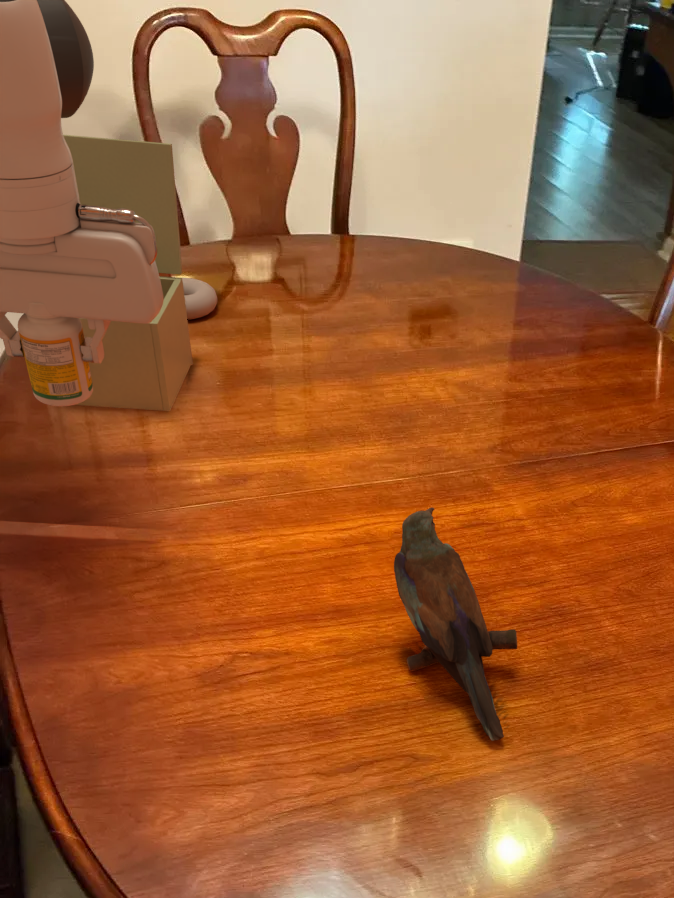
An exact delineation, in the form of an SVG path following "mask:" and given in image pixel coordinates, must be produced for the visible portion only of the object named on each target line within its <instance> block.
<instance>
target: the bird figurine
mask: <svg viewBox="0 0 674 898" xmlns="http://www.w3.org/2000/svg"><path fill="white" fill-rule="evenodd" d="M434 511H435V507H429V508H427V509H426V510H418V511H415V512H413V513H410V514H409V515H408V516H407V517H406V518H405V519H404V520H403V522H402V525H401V529H402V533H401V546H400V550H399V552H397V553H396V555H394V559H393V560H394V561H393V571H394V578H395V583H396V589H397V593H398V596H399V598H400V600H401V603H402V604H403V606H404V609H405V611H406V613H407V616H408V618H409V619H410V621H411V623H412V625H413V627H414V628H415V630H416V631H417V633H418V634H419V636H420V639H421V642H422V643H423V645H424V646H423V648H422V649H421V651H420V652H418V653H416V654H413V655H410V656H408V657H406V664H407V667H408V669H409V671H410V672H414V671H417V670H421V669H424V668H427V667H430V666H432V665H434V664H437V663H439V664H440V665H441V666H442V668H444V670H445V671H446V672H447V673H448V674H449V675H450V676H451V677H452V679H453V680H454V681H455V682H456V684H458V686H459V687H460V688H461V689H462V690H463V691H464V692H465V693H466V694H467V695H468V698H469V701H470V703H471V705H472V707H473V712H474V714H475V716H476V718H477V720H478V721H479V722H480V724H481V726H482V728H483V731H484V733H485V734H486V736H488V737H489V739H490V741H492V742H494V741H500V740H501V739H503V738H504V737H505V735H504V731H503V727H502V724H501V720H500V718H499V716H498V714H497V711H496V707H495V704H494V703H495V702H494V698H493V695H492V692H491V689H490V687H489V686H490V685H489V683H488V681H487V678H486V674H485V668H484V663H483V662H484V661H483V657H484V658H490V657H491V656H492V655H493V651H494V650H498V651H499V650H500V651H501V650H518V635H517V630H516V629H505V630H488V627H487V623H486V621H485V617H484V615H483V612H482V608H481V605H480V602H479V599H478V596H477V593H476V591H475V588H474V586H473V583H472V581H471V579H470V576H469V575H468V572H467V571H466V569H465V566H464V565H465V564H464V563H463V561H462V559H461V556H460V554H459V553H458V552H457V551H456V550H455V549H454V548H453V547H452V545H451V544H449V543H448V542H447V543H446V542H445V543H444V542H443V541H442V540H441V539H440V538H439V537H438V534H437V531H436V527H435V526H436V523H435V521H434V516H433V512H434Z"/></svg>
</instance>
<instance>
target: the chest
mask: <svg viewBox="0 0 674 898" xmlns="http://www.w3.org/2000/svg"><path fill="white" fill-rule="evenodd" d="M159 277H160V282H161V286H162V291H163V305H162V308H161V310H160V312H159V313H158V315H157V316H156V317H155V318H154V319H153V320H152V321H151V322H150V323H148V324H143V323H131V322H119V321H111V322H110V325H109V327H108V329H107V331H106V333H105V335H104V337H103V339H102V343H103V348H104V359H103V360H102V362H101V363H89V367H90V372H91V378H92V384H93V392H92V394H91V396H90V397H89V398H88V399H87V400H85V401H83V402H81V403H78V404H75V405H74V406H84V407H85V406H86V407H99V408H101V407H102V408H116V409H130V410H131V409H133V410H147V411H149V410H150V411H161V412H171V411H172V408H173V405H174V404H175V402H176V399H177V397H178V395H179V393H180V390H181V388H182V386H183V384H184V381H185V379H186V377H187V375H188V373H189V370H190V368H191V366H193V365H194V361H193V360H194V359H193V354H192V353H193V352H192V344H191V337H190V330H189V319H188V320H187V312H186V305H185V297H184V289H183V281H182V278H183V277H176V276H166V275H165V276H163V275H159ZM79 319H80V320H81V323H82V328H83V334H84V339H85V337H93V336H94V334H95V331H96V329H95V330H93V329H90V328H89V326H88V321H87V319H83V318H79Z"/></svg>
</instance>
